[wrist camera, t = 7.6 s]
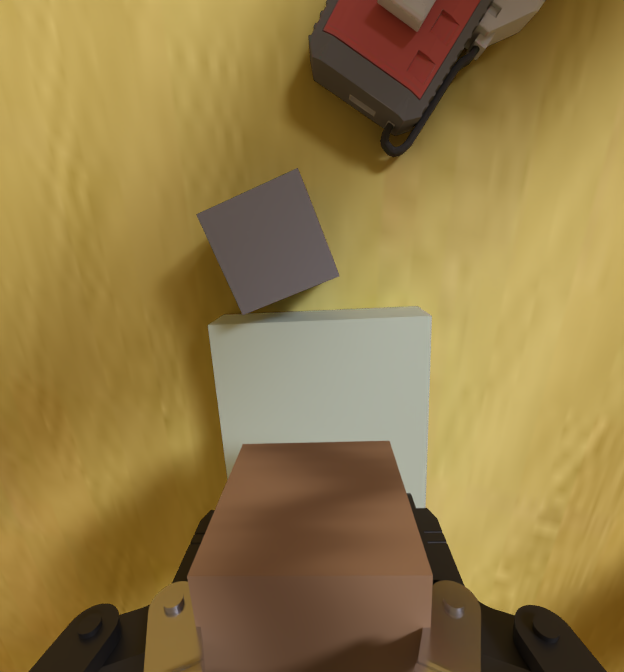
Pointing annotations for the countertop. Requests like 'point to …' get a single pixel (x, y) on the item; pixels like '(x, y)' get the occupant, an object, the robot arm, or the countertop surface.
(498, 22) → the walkie-talkie
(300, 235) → the charcoal block
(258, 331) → the pedestal
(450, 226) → the countertop surface
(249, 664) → the walnut cube
